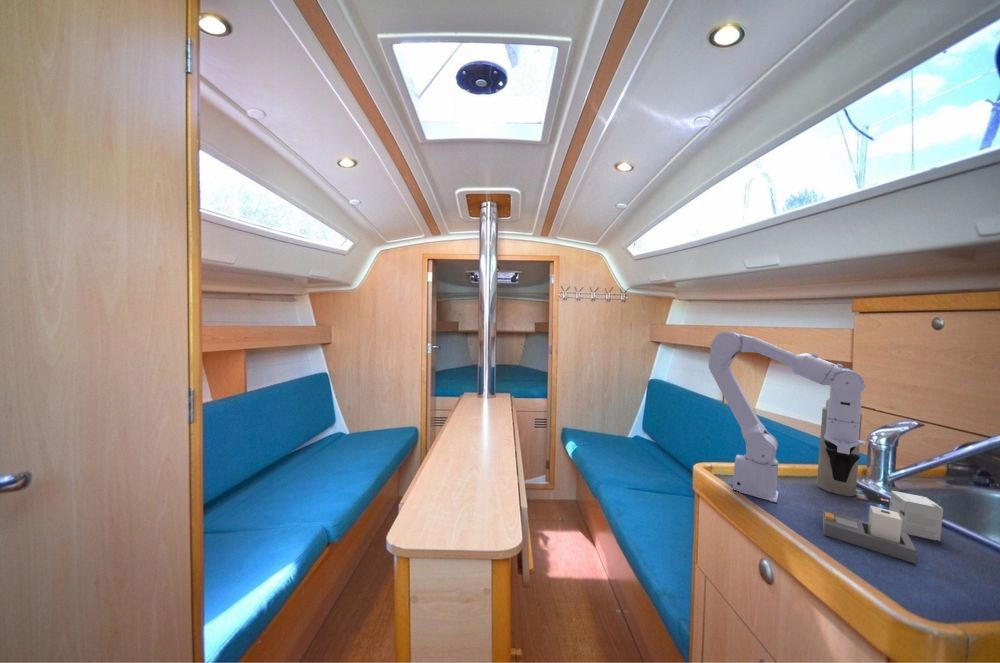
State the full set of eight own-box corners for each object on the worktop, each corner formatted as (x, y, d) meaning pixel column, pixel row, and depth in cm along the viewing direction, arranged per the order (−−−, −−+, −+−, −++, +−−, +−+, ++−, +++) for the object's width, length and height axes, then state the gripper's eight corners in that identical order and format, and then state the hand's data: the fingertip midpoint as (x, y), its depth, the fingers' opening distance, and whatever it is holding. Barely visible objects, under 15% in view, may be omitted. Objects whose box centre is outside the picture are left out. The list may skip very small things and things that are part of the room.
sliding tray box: (823, 534, 77) (824, 520, 77) (822, 520, 83) (823, 507, 83) (915, 563, 68) (916, 547, 68) (906, 545, 75) (907, 530, 74)
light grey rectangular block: (870, 545, 74) (872, 511, 74) (867, 537, 77) (870, 504, 77) (898, 554, 71) (901, 518, 71) (894, 545, 74) (897, 511, 74)
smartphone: (849, 489, 102) (849, 485, 102) (928, 507, 93) (929, 502, 93) (856, 500, 95) (857, 496, 95) (942, 520, 87) (943, 515, 86)
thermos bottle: (836, 483, 104) (844, 388, 104) (864, 497, 96) (872, 393, 96) (809, 482, 104) (816, 386, 104) (834, 495, 97) (842, 392, 96)
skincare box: (887, 520, 85) (889, 489, 84) (923, 528, 82) (926, 496, 82) (902, 533, 79) (905, 500, 79) (941, 542, 76) (944, 508, 76)
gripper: (871, 429, 77) (866, 491, 77) (862, 418, 88) (858, 472, 89) (827, 422, 82) (822, 481, 82) (824, 412, 93) (820, 464, 93)
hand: (838, 476), depth 86 cm, fingers open, 7 cm apart
